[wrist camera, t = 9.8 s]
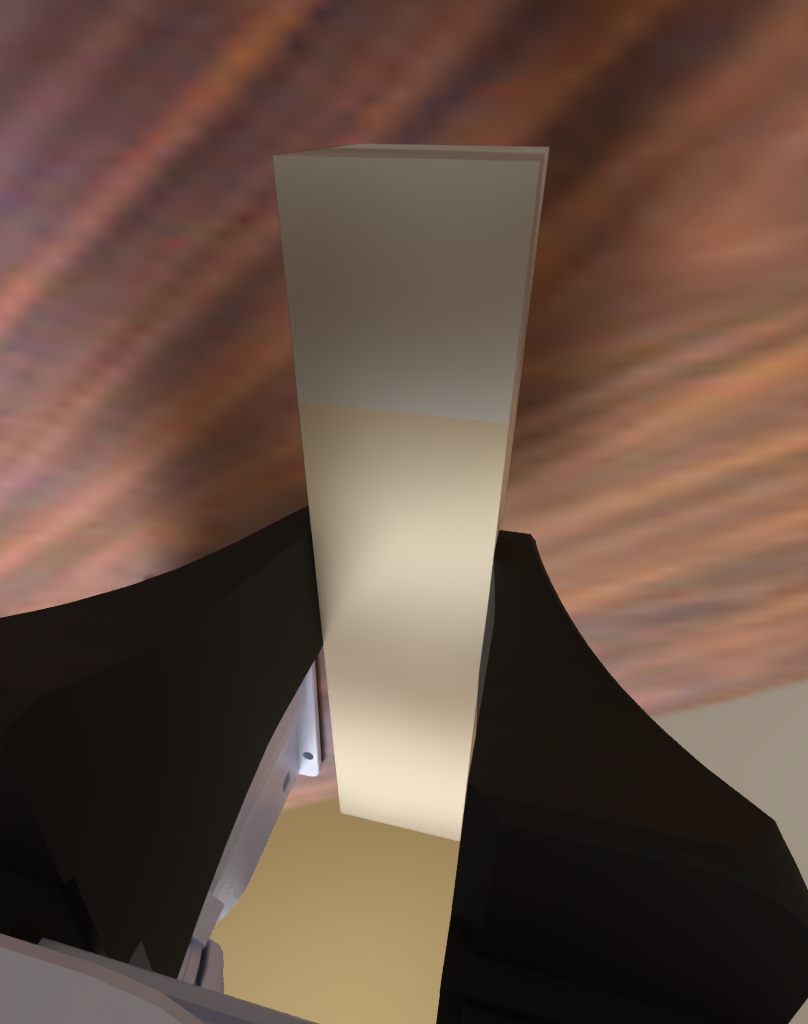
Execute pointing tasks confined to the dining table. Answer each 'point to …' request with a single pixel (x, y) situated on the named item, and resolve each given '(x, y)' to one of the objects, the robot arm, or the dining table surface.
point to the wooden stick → (407, 441)
